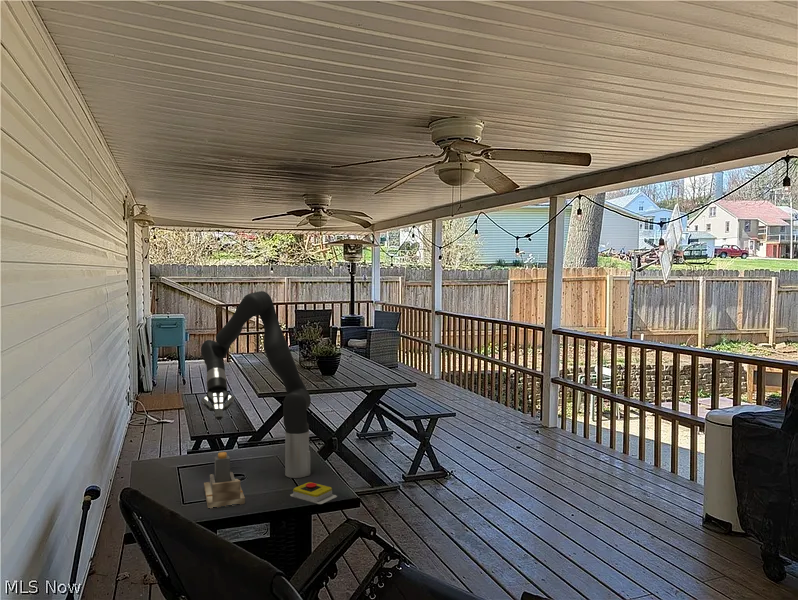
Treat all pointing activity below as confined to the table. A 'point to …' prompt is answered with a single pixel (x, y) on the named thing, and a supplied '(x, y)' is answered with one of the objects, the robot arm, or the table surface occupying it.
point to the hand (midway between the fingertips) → (219, 418)
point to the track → (223, 492)
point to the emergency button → (313, 493)
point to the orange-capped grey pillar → (222, 467)
